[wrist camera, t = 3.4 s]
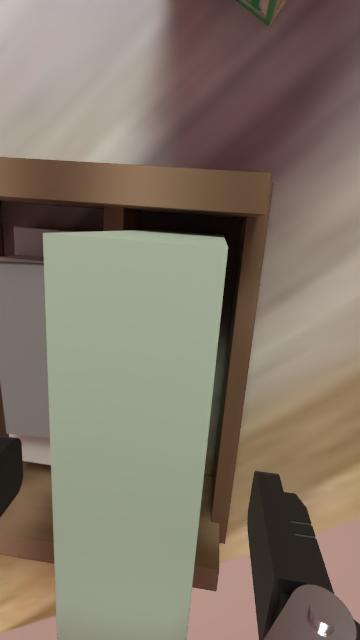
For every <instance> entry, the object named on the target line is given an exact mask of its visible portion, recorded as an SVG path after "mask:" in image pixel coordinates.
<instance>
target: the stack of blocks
mask: <svg viewBox="0 0 360 640" xmlns="http://www.w3.org/2000/svg"><path fill="white" fill-rule="evenodd" d="M237 1H238V2H239V3H241V4H242V5H243V6H244V7H246V8H247V9H248V10H249V11H251V12H252V13H253V14H254V15H256V16H257V17H258V18H260V19H261V20H262V21H263V22H264V23H266V24H267V25H268V26H270V25H271V24H272V23H273V21H274V19H275V18H276V16H277V15H278V13H279V12H280V10H281V8H282V7H283V5H284V4H285V2H286V1H287V0H237Z"/></svg>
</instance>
